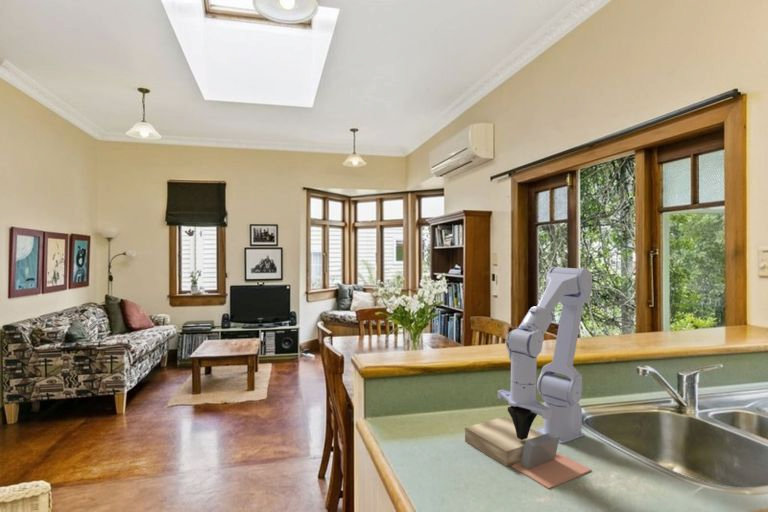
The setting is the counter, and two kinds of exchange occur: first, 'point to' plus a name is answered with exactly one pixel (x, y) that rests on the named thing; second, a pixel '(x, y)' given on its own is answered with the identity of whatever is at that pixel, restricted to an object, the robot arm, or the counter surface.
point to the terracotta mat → (554, 471)
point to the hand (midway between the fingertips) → (522, 437)
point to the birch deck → (498, 440)
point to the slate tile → (539, 450)
